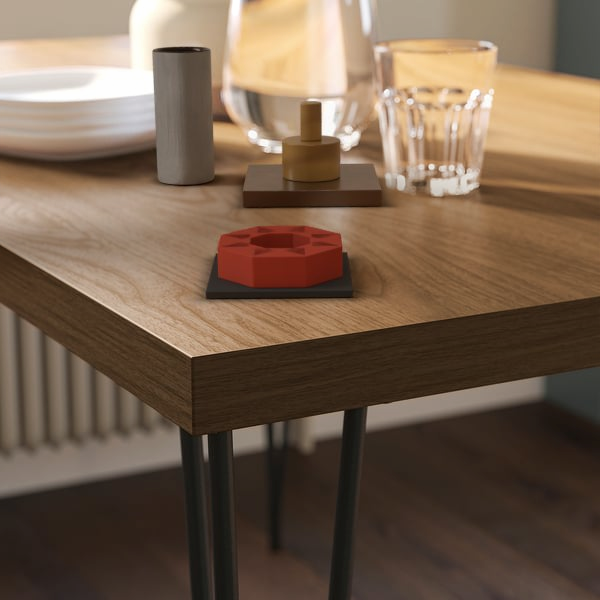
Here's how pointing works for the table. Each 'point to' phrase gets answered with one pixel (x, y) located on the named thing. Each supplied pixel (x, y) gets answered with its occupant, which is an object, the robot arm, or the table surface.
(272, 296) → the mat
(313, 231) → the ring
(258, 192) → the ring holder
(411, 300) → the table surface
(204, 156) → the planter
